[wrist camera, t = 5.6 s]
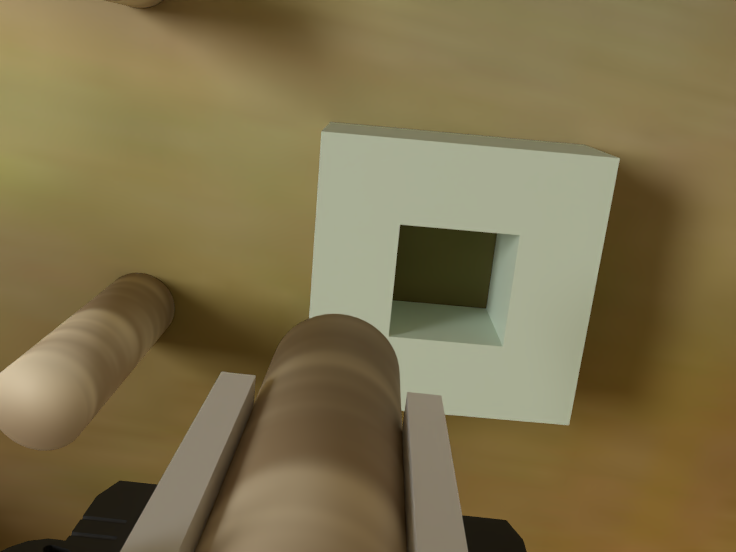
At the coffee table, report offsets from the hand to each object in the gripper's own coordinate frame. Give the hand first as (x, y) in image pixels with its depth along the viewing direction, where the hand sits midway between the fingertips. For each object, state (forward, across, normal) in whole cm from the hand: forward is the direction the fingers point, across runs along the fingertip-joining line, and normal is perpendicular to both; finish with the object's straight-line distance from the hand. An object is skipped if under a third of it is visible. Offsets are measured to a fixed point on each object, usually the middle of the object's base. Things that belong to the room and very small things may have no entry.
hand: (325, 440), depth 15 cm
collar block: (+19, +4, 0) cm, 20 cm away
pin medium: (+19, -11, -5) cm, 23 cm away
